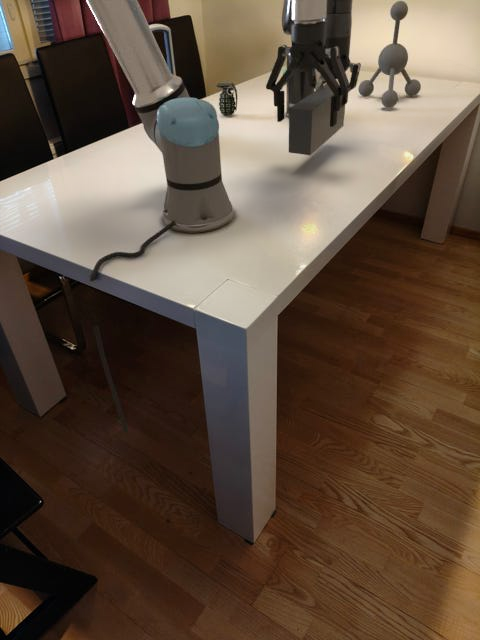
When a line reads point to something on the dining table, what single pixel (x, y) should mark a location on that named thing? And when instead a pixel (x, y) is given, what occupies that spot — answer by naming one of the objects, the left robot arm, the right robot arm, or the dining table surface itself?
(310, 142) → the box
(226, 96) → the grenade
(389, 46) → the molecular model
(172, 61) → the electronic device
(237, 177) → the dining table surface
